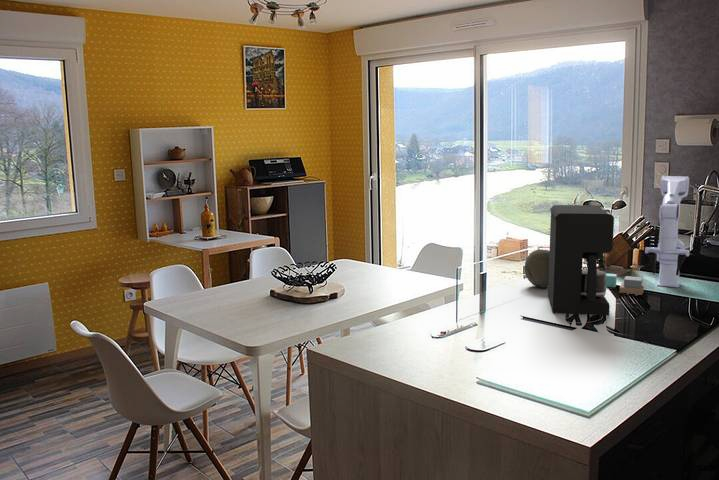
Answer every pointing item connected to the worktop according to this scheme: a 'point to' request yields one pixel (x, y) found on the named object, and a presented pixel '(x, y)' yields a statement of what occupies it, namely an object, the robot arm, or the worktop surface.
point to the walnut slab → (631, 290)
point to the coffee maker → (578, 258)
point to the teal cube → (611, 280)
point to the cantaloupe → (538, 268)
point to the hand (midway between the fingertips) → (665, 274)
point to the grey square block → (633, 282)
